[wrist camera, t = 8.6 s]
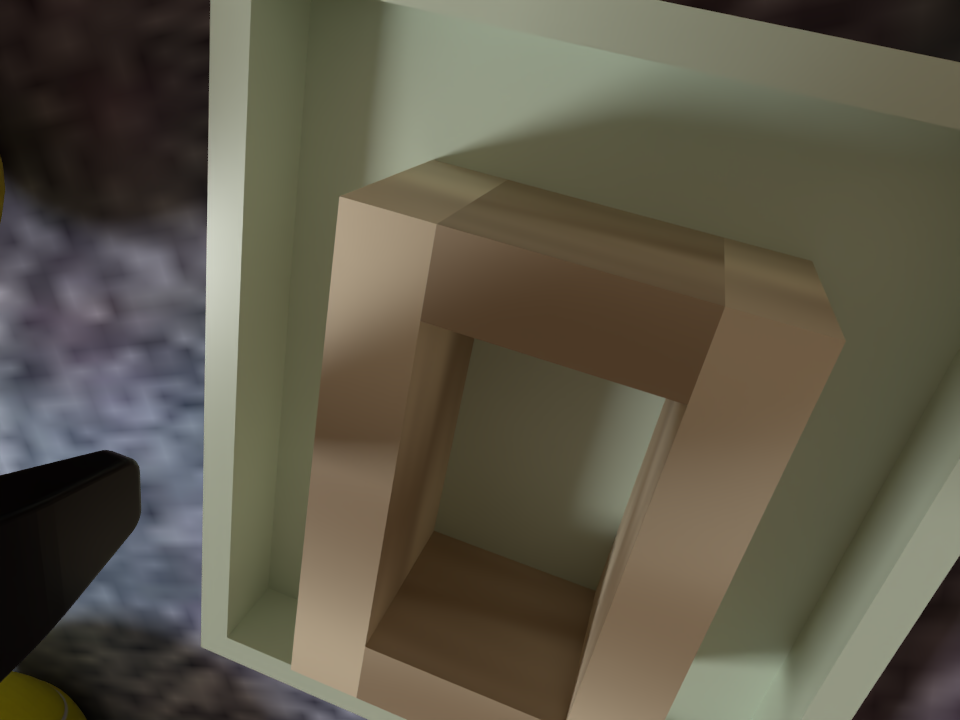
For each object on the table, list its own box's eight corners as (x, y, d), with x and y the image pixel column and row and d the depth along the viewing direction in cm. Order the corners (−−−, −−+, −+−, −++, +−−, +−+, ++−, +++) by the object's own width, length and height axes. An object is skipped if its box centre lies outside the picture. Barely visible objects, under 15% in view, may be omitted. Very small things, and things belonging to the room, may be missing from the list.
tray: (741, 780, 14) (744, 881, 13) (256, 582, 16) (200, 646, 15) (1135, 105, 8) (1245, 121, 7) (296, -70, 10) (211, -93, 9)
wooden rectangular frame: (432, 159, 11) (339, 196, 8) (812, 261, 10) (846, 340, 7) (359, 618, 15) (283, 738, 12) (613, 722, 14) (590, 876, 11)
